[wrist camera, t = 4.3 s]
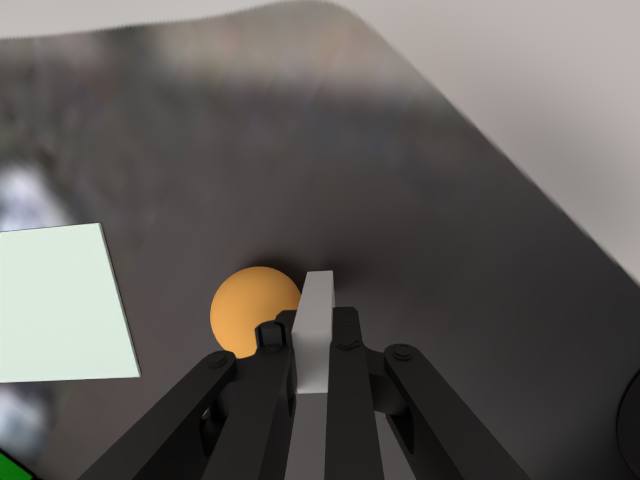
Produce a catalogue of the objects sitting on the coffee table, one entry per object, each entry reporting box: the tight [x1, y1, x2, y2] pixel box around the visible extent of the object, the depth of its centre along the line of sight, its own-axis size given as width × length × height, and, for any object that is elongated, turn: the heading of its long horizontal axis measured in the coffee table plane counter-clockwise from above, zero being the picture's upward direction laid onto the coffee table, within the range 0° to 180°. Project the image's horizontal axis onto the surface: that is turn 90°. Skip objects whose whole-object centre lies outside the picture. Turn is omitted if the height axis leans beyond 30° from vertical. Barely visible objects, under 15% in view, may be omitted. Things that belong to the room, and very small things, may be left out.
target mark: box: [0, 223, 141, 382], centre depth 22 cm, size 12×12×1 cm
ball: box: [210, 267, 301, 358], centre depth 18 cm, size 6×6×6 cm
